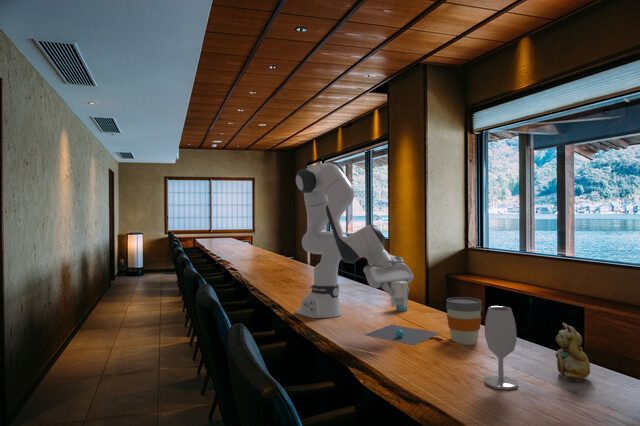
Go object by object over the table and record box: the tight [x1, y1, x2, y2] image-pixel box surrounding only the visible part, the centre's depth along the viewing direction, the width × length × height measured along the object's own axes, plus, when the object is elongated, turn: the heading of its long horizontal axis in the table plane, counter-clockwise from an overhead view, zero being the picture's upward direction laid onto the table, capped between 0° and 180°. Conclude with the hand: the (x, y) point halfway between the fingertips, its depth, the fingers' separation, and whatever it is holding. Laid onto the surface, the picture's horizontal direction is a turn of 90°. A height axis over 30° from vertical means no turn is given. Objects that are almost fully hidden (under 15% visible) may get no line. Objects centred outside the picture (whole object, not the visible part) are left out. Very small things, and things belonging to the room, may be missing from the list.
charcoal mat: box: [364, 324, 441, 346], centre depth 176 cm, size 22×20×1 cm
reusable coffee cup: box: [445, 296, 483, 346], centre depth 166 cm, size 13×13×15 cm
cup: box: [395, 283, 410, 313], centre depth 218 cm, size 14×8×15 cm, turn 13°
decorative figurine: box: [555, 322, 591, 382], centre depth 129 cm, size 10×8×15 cm
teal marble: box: [396, 330, 404, 338], centre depth 171 cm, size 3×3×3 cm
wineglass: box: [484, 305, 519, 391], centre depth 125 cm, size 9×9×21 cm
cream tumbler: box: [390, 281, 408, 308], centre depth 171 cm, size 6×6×9 cm
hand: (400, 293), depth 170 cm, fingers closed on cream tumbler, 6 cm apart
